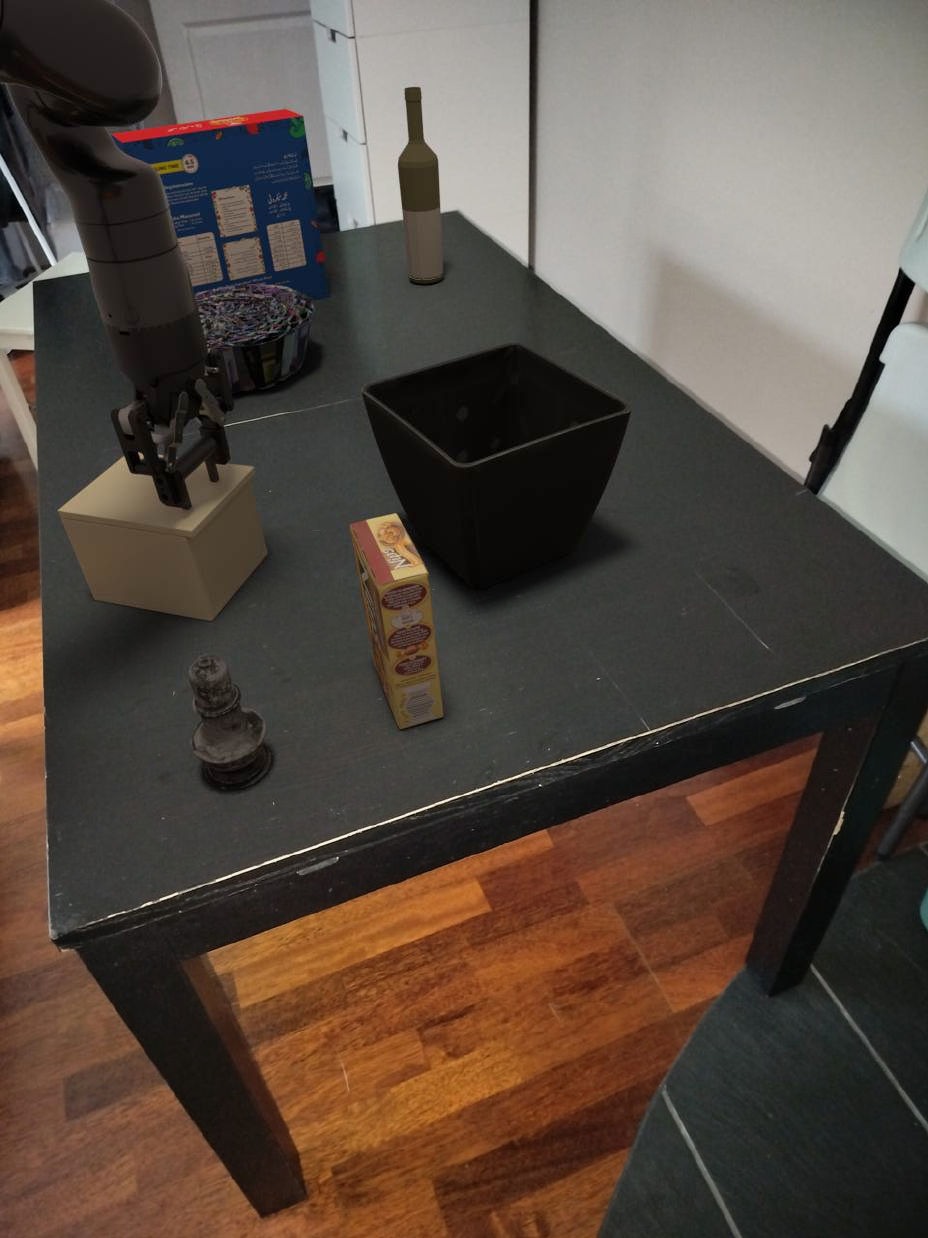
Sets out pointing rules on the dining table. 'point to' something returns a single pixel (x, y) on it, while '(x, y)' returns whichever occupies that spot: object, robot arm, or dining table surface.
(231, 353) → the decorative bowl
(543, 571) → the dining table surface
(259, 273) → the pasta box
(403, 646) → the candy box
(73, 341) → the dining table surface
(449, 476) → the flower pot
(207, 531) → the tan lidded cardboard box
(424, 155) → the bottle
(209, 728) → the salt shaker
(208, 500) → the lid
